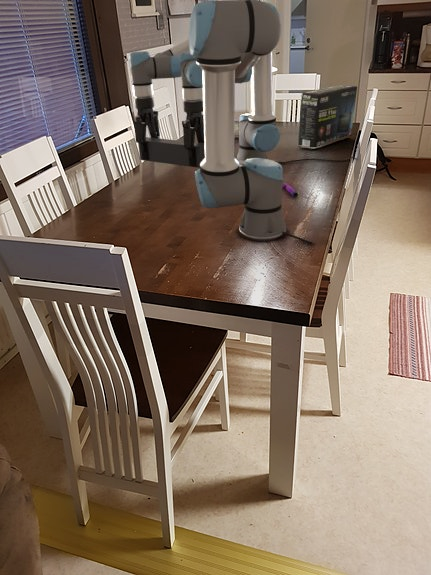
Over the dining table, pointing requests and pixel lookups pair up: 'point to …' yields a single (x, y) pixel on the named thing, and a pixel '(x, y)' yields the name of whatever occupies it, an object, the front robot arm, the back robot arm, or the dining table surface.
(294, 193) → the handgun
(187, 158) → the bar
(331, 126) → the router box
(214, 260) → the dining table surface
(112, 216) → the dining table surface
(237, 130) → the fossil
